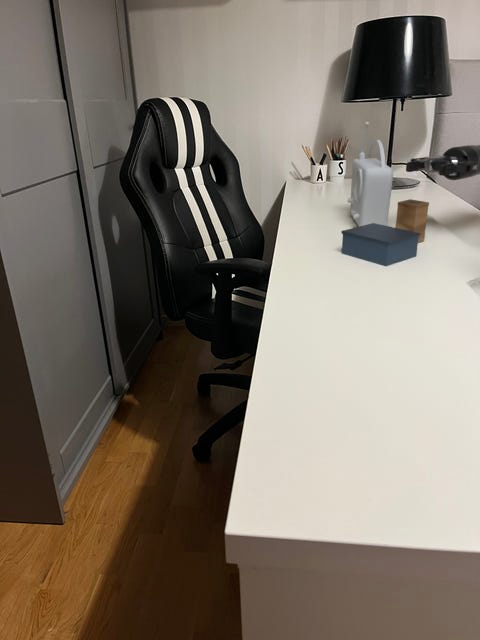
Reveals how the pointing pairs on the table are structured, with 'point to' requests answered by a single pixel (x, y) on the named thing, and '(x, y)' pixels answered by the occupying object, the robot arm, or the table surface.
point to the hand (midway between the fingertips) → (423, 168)
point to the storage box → (380, 243)
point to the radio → (370, 187)
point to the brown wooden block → (412, 216)
